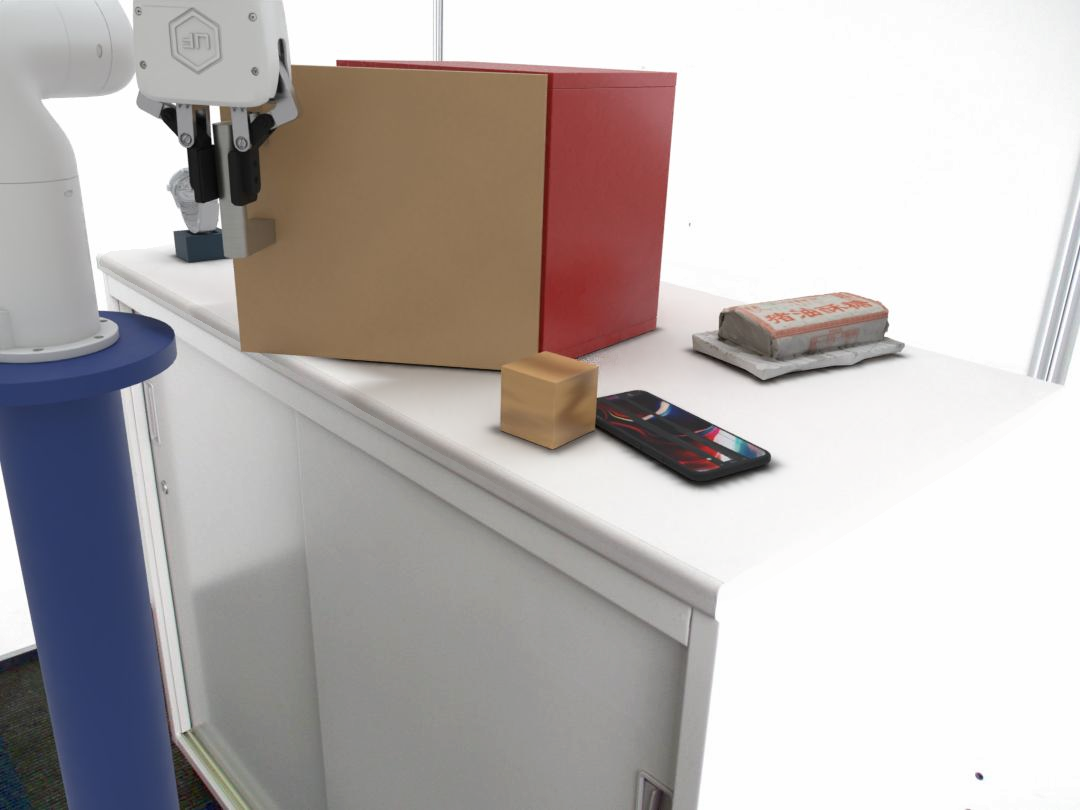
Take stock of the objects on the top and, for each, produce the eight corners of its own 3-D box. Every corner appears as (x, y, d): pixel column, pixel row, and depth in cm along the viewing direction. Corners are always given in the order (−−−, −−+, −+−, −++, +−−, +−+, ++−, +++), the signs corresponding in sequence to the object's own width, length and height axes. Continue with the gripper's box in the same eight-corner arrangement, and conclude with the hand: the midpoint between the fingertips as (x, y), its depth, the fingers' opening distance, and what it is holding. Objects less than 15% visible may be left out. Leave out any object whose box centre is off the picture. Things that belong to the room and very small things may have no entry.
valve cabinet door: (526, 399, 73) (535, 77, 65) (207, 375, 76) (175, 63, 67) (537, 368, 80) (547, 74, 72) (245, 348, 83) (220, 61, 74)
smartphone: (641, 387, 75) (777, 454, 63) (640, 395, 75) (776, 463, 63) (567, 402, 71) (697, 476, 60) (567, 410, 72) (696, 486, 60)
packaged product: (831, 282, 94) (913, 306, 86) (824, 327, 96) (903, 355, 88) (693, 300, 85) (769, 329, 77) (688, 350, 87) (762, 383, 79)
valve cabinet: (542, 370, 80) (553, 72, 72) (346, 310, 96) (335, 59, 87) (656, 328, 93) (677, 72, 85) (467, 282, 109) (468, 61, 100)
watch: (213, 248, 121) (204, 162, 117) (237, 259, 116) (229, 169, 112) (169, 253, 118) (159, 164, 114) (193, 265, 112) (183, 172, 108)
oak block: (552, 449, 65) (555, 382, 63) (499, 430, 68) (500, 365, 66) (595, 430, 68) (599, 366, 67) (543, 412, 71) (545, 350, 69)
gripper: (64, -79, 61) (100, 202, 68) (296, -70, 59) (309, 218, 66) (127, -67, 68) (154, 187, 75) (337, -58, 66) (345, 201, 73)
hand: (226, 199), depth 70 cm, fingers closed
